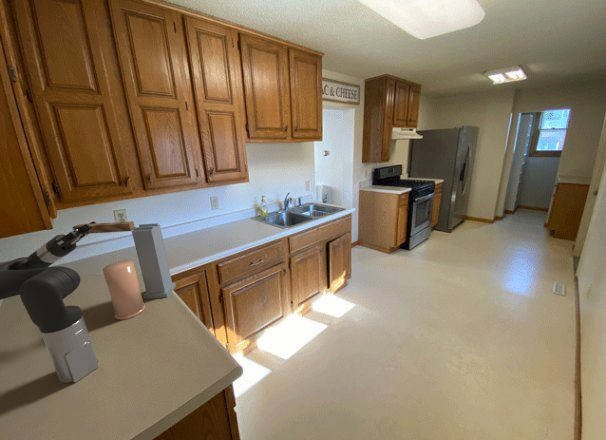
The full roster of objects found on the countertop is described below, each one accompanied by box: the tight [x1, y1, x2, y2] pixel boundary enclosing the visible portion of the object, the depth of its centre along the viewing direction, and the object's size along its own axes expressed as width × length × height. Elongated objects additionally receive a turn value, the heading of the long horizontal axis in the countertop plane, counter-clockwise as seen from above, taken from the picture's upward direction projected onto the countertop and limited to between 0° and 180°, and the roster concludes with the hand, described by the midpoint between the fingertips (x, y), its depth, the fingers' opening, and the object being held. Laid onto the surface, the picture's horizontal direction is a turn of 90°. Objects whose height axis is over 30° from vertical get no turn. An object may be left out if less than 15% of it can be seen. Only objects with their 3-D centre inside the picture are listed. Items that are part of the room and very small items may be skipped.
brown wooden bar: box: [72, 220, 136, 235], centre depth 96 cm, size 20×3×3 cm, turn 95°
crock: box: [102, 259, 146, 321], centre depth 103 cm, size 11×11×21 cm
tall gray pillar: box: [131, 223, 177, 300], centre depth 116 cm, size 10×10×33 cm
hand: (92, 224), depth 96 cm, fingers closed on brown wooden bar, 3 cm apart
